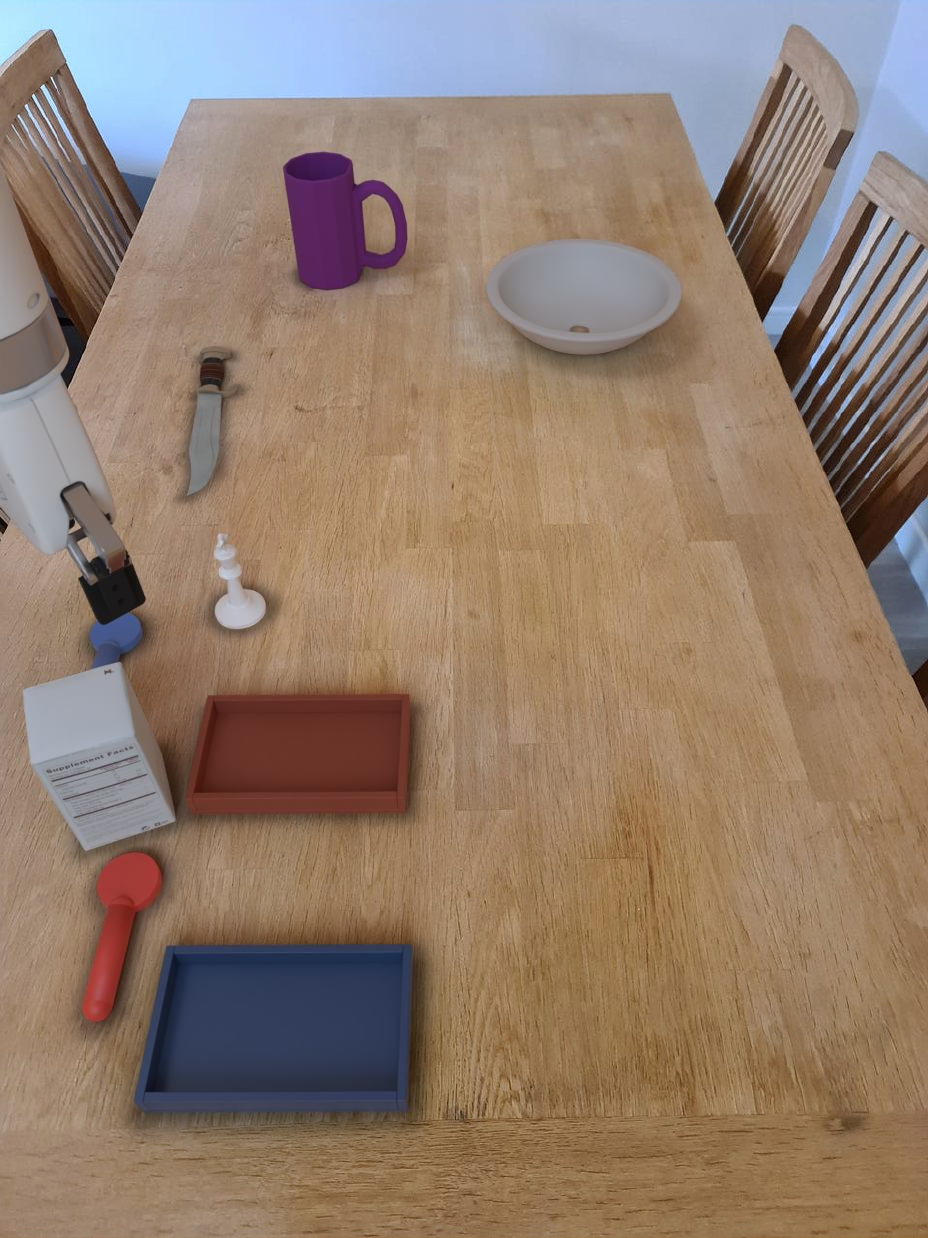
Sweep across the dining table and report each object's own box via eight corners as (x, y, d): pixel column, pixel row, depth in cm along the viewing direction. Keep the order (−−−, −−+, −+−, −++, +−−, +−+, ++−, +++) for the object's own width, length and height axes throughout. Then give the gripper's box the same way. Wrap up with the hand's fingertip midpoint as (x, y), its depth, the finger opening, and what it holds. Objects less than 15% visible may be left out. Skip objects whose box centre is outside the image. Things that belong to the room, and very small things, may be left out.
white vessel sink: (462, 369, 119) (461, 321, 114) (513, 273, 134) (514, 227, 130) (656, 401, 114) (664, 352, 109) (687, 298, 129) (695, 251, 125)
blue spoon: (116, 729, 84) (110, 715, 82) (63, 729, 84) (55, 715, 82) (148, 620, 92) (143, 605, 91) (100, 620, 92) (93, 606, 91)
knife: (222, 492, 103) (173, 489, 103) (223, 503, 104) (175, 500, 104) (241, 346, 121) (200, 343, 120) (242, 357, 122) (201, 354, 121)
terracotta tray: (191, 816, 78) (184, 799, 76) (213, 713, 85) (207, 695, 83) (406, 814, 78) (404, 797, 76) (410, 711, 84) (409, 693, 83)
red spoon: (131, 1026, 67) (123, 1015, 65) (64, 1026, 67) (55, 1015, 65) (168, 859, 75) (162, 846, 74) (109, 859, 75) (101, 847, 74)
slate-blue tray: (143, 1114, 63) (133, 1102, 61) (175, 960, 70) (166, 945, 68) (408, 1113, 63) (406, 1101, 61) (413, 959, 70) (411, 943, 68)
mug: (303, 258, 138) (288, 150, 127) (412, 259, 137) (406, 151, 126) (293, 292, 132) (276, 181, 121) (407, 293, 131) (400, 182, 120)
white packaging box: (73, 780, 80) (19, 685, 71) (163, 753, 82) (123, 657, 72) (83, 855, 76) (26, 765, 66) (178, 825, 77) (136, 733, 68)
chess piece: (206, 626, 91) (182, 550, 84) (227, 589, 95) (205, 512, 87) (255, 635, 91) (235, 559, 83) (275, 598, 94) (257, 521, 86)
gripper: (-142, 305, 54) (-22, 531, 67) (-14, 448, 45) (96, 678, 58) (-13, 258, 57) (78, 483, 70) (131, 384, 48) (205, 615, 61)
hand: (86, 571), depth 64 cm, fingers open, 9 cm apart
